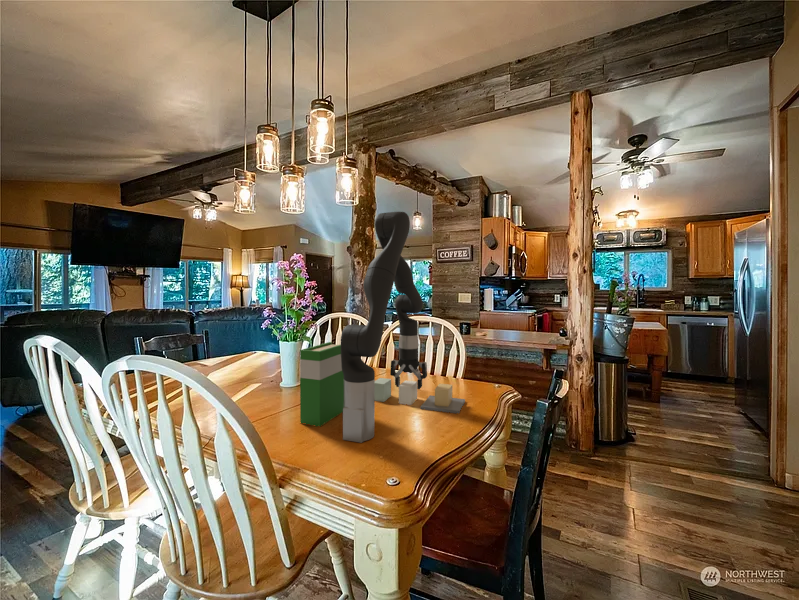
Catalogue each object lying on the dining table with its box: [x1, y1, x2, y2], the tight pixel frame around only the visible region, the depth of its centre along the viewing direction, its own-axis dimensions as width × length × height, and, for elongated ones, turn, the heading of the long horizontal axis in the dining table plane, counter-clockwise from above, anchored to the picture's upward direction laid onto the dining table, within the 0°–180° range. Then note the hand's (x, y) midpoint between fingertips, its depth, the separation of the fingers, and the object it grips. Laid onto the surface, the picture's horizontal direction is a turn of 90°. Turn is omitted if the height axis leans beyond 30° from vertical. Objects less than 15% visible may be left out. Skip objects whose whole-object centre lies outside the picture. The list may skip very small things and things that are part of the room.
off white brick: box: [398, 379, 418, 406], centre depth 143 cm, size 8×5×7 cm, turn 161°
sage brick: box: [375, 377, 392, 403], centre depth 147 cm, size 8×5×7 cm, turn 161°
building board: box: [420, 383, 466, 415], centre depth 138 cm, size 14×14×7 cm
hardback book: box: [299, 341, 344, 427], centre depth 126 cm, size 18×7×24 cm, turn 159°
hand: (408, 387), depth 143 cm, fingers open, 8 cm apart
